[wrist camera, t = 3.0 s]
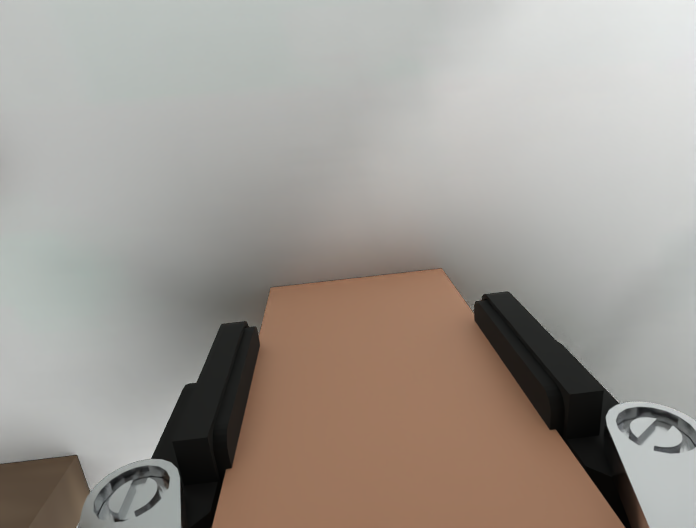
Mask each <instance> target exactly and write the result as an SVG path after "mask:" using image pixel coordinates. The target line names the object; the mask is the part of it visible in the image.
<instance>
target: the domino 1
mask: <svg viewBox="0 0 696 528" xmlns="http://www.w3.org/2000/svg"><path fill="white" fill-rule="evenodd" d="M89 493H90V491H89V488H88V485H87V482H86V480H85V477H84V474H83V471H82V468H81V466H80V463H79V460H78V457H77V455H75V456H66V457H58V458H49V459H41V460H33V461H24V462H16V463H7V464H0V528H76V527H77V525H78V523H79V521H80V517H81V512H82V508H83V505H84V503H85V501H86V498H87V496H88V495H89Z"/></svg>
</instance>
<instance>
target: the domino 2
mask: <svg viewBox="0 0 696 528" xmlns="http://www.w3.org/2000/svg"><path fill="white" fill-rule="evenodd" d="M259 341H260V348H259V352H258V357H257V361H256V365H255V370H254V374H253V378H252V383H251V387H250V391H249V396H248V400H247V404H246V409H245V413H244V417H243V422H242V426H241V430H240V435H239V439H238V443H237V448H236V452H235V456H234V461H233V465H232V468H231V469H226V472H225V476H224V480H223V484H222V488H221V492H220V496H219V500H218V504H217V509H216V513H215V517H214V521H213V525H212V528H625V526H624V525H623V524H622V522H621V521H620V519H619V518H618V517H617V515H616V514H615V512H614V511H613V509H612V508H611V507H610V505H609V504H608V502H607V501H606V500H605V498H604V497H603V495H602V494H601V493H600V491H599V490H598V488H597V487H596V485H595V484H594V483H593V481H592V480H591V478H590V477H589V476H588V474H587V473H586V471H585V470H584V469H583V467H582V466H581V464H580V463H579V461H578V460H577V459H576V457H575V456H574V454H573V453H572V452H571V450H570V449H569V447H568V446H567V445H566V443H565V442H564V440H563V439H562V437H561V436H560V435H559V433H558V432H557V430H556V429H555V430H549V428H548V427H547V425H546V424H545V422H544V421H543V419H542V418H541V417H540V415H539V414H538V412H537V411H536V409H535V408H534V406H533V405H532V403H531V402H530V401H529V399H528V398H527V396H526V395H525V393H524V392H523V390H522V389H521V387H520V386H519V385H518V383H517V382H516V380H515V379H514V377H513V376H512V374H511V373H510V371H509V370H508V369H507V367H506V366H505V364H504V363H503V361H502V360H501V358H500V357H499V355H498V354H497V353H496V351H495V350H494V348H493V347H492V345H491V344H490V342H489V341H488V339H487V338H486V337H485V335H484V334H483V332H482V331H481V329H480V328H479V326H478V325H477V323H476V322H475V321H474V313H473V312H472V310H471V309H470V308H469V306H468V305H467V303H466V302H465V300H464V299H463V298H462V296H461V295H460V293H459V292H458V291H457V289H456V288H455V286H454V285H453V284H452V282H451V281H450V279H449V278H448V276H447V275H446V274H445V272H444V271H443V269H442V268H440V269H431V270H423V271H414V272H405V273H396V274H387V275H378V276H369V277H360V278H351V279H342V280H334V281H325V282H316V283H307V284H298V285H289V286H280V287H271V288H270V292H269V296H268V300H267V305H266V309H265V313H264V317H263V321H262V325H261V329H260V333H259Z"/></svg>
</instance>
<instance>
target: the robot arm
mask: <svg viewBox="0 0 696 528" xmlns="http://www.w3.org/2000/svg"><path fill="white" fill-rule="evenodd" d="M474 321H475V322H476V323H477V325H478V326H479V328H480V329H481V331H482V332H483V334H484V335H485V337H486V338H487V339H488V341H489V342H490V344H491V345H492V347H493V348H494V350H495V351H496V353H497V354H498V355H499V357H500V358H501V360H502V361H503V363H504V364H505V366H506V367H507V369H508V370H509V371H510V373H511V374H512V376H513V377H514V379H515V380H516V382H517V383H518V385H519V386H520V387H521V389H522V390H523V392H524V393H525V395H526V396H527V398H528V399H529V401H530V402H531V403H532V405H533V406H534V408H535V409H536V411H537V412H538V414H539V415H540V417H541V418H542V419H543V421H544V422H545V424H546V425H547V427H548V428H549V430H555V429H556V430H557V432H558V433H559V435H560V436H561V437H562V439H563V440H564V442H565V443H566V445H567V446H568V447H569V449H570V450H571V452H572V453H573V454H574V456H575V457H576V459H577V460H578V461H579V463H580V464H581V466H582V467H583V469H584V470H585V471H586V473H587V474H588V476H589V477H590V478H591V480H592V481H593V483H594V484H595V485H596V487H597V488H598V490H599V491H600V493H601V494H602V495H603V497H604V498H605V500H606V501H607V502H608V504H609V505H610V507H611V508H612V509H613V511H614V512H615V514H616V515H617V517H618V518H619V519H620V521H621V522H622V524H623V525H624V526H625V528H696V420H694V419H693V418H691V417H690V416H688V415H687V414H685V413H682V412H680V411H678V410H676V409H673V408H671V407H668V406H664V405H660V404H657V403H650V402H643V401H636V402H625V403H621V404H619V403H618V402H617V401H616V400H615V399H614V398H613V397H612V396H611V394H610V393H609V392H608V391H607V390H606V389H605V388H604V387H603V386H602V385H601V384H600V383H599V382H598V381H597V380H596V379H595V378H594V377H593V376H592V375H591V374H590V373H589V372H588V371H587V370H586V369H585V368H584V367H583V366H582V365H581V364H580V363H579V361H578V360H577V359H576V358H575V357H574V356H573V355H572V354H571V353H570V352H569V351H568V350H567V349H566V348H565V347H564V346H563V345H562V344H560V343H559V342H557V341H556V340H555V339H554V338H553V337H552V336H551V335H550V334H549V333H548V332H547V331H546V330H545V329H544V328H543V327H542V326H541V325H540V324H539V322H538V321H537V320H536V319H535V318H534V317H533V316H532V315H531V314H530V313H529V312H528V311H527V310H526V309H525V308H524V307H523V306H522V305H521V304H520V303H519V302H518V301H517V300H516V299H515V298H514V296H513V295H512V294H511V293H509V292H500V293H491V294H484V295H483V296H482V301H476V302H475V305H474ZM259 348H260V341H259V335H258V330H257V328H256V327H249V326H248V323H247V322H246V321H244V322H235V323H227V324H222V325H221V326H220V328H219V331H218V333H217V336H216V338H215V340H214V343H213V345H212V347H211V350H210V352H209V355H208V357H207V359H206V362H205V364H204V366H203V369H202V371H201V374H200V376H199V378H198V381H197V383H191V384H187V385H185V387H184V388H183V390H182V392H181V395H180V397H179V399H178V401H177V403H176V406H175V408H174V410H173V412H172V414H171V416H170V419H169V421H168V423H167V425H166V427H165V430H164V432H163V434H162V436H161V438H160V441H159V443H158V445H157V447H156V449H155V451H154V454H153V456H152V458H151V459H147V460H141V461H136V462H133V463H131V464H128V465H126V466H123V467H121V468H119V469H118V470H116V471H114V472H112V473H111V474H109V475H108V476H106V477H105V478H104V479H103V480H102V481H100V482H99V483H98V484H97V485H96V486H95V487H94V488H93V490H92V491H91V492H90V493H89V495H88V496H87V498H86V501H85V503H84V505H83V508H82V512H81V517H80V521H79V526H78V528H212V525H213V521H214V517H215V513H216V509H217V504H218V500H219V496H220V492H221V488H222V484H223V480H224V476H225V472H226V469H231V468H232V465H233V461H234V456H235V452H236V448H237V443H238V439H239V435H240V430H241V426H242V422H243V417H244V413H245V409H246V404H247V400H248V396H249V391H250V387H251V383H252V378H253V374H254V370H255V365H256V361H257V357H258V352H259Z"/></svg>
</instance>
